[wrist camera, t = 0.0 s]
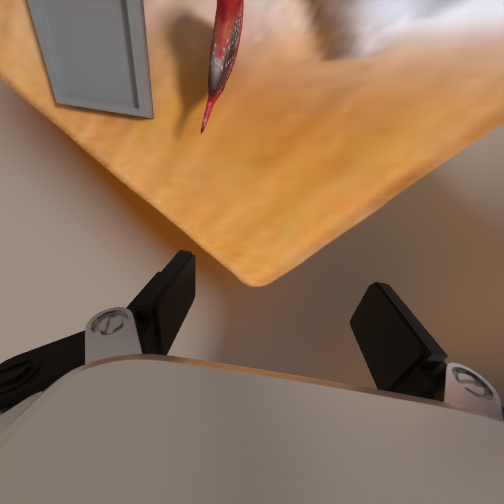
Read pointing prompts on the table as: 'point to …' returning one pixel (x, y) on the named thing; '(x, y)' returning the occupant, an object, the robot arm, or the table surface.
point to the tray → (96, 53)
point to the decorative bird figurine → (223, 49)
